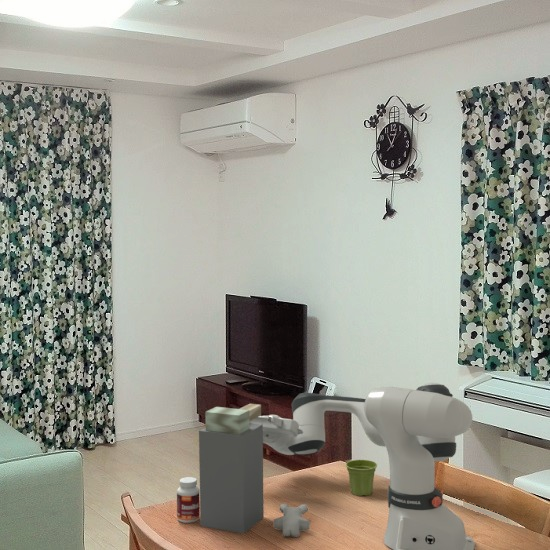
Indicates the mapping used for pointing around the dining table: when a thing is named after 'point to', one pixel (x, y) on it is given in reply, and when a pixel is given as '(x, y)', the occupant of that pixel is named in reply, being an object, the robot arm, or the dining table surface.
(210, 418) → the mallet
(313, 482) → the dining table surface
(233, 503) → the stand
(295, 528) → the grey soft figure
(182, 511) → the pill bottle
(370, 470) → the plant pot
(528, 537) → the dining table surface
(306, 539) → the dining table surface
